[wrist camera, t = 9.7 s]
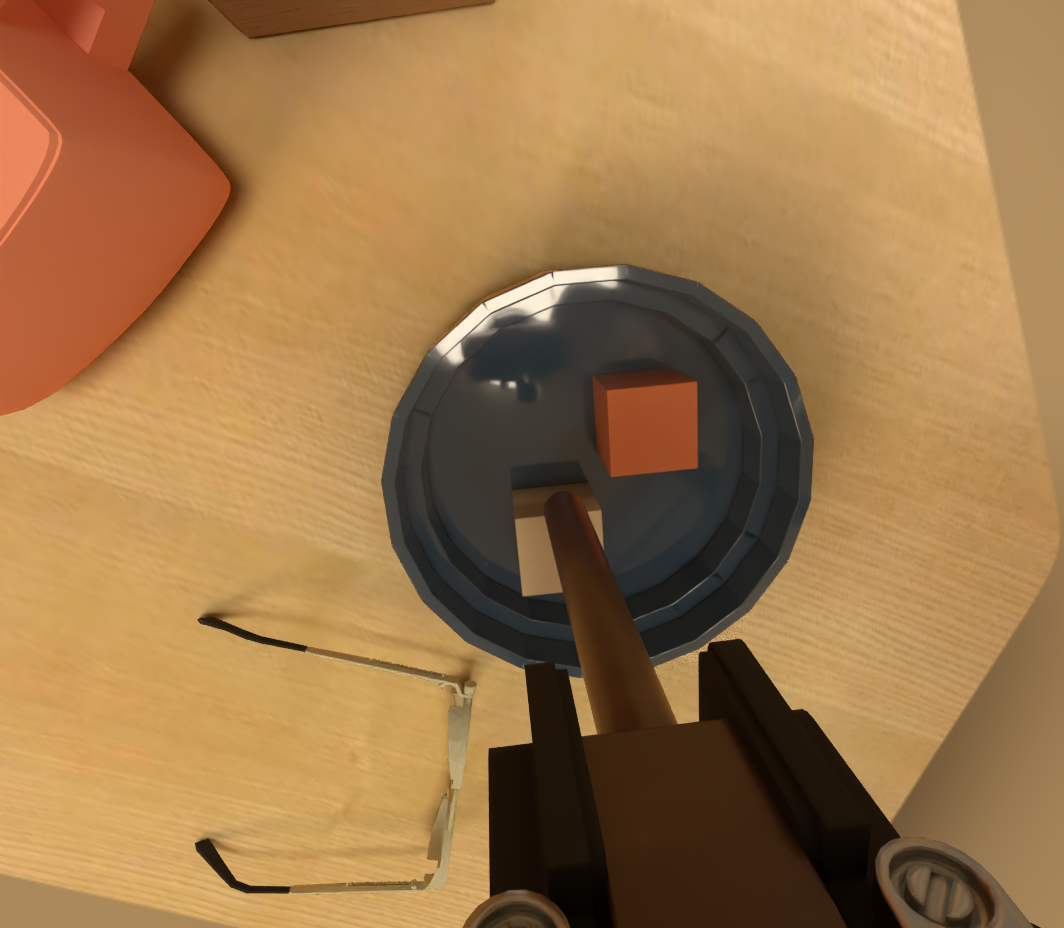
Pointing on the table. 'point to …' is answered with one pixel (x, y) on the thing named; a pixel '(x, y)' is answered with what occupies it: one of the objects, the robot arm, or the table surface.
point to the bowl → (596, 460)
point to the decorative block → (319, 12)
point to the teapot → (86, 190)
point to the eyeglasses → (446, 813)
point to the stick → (672, 777)
